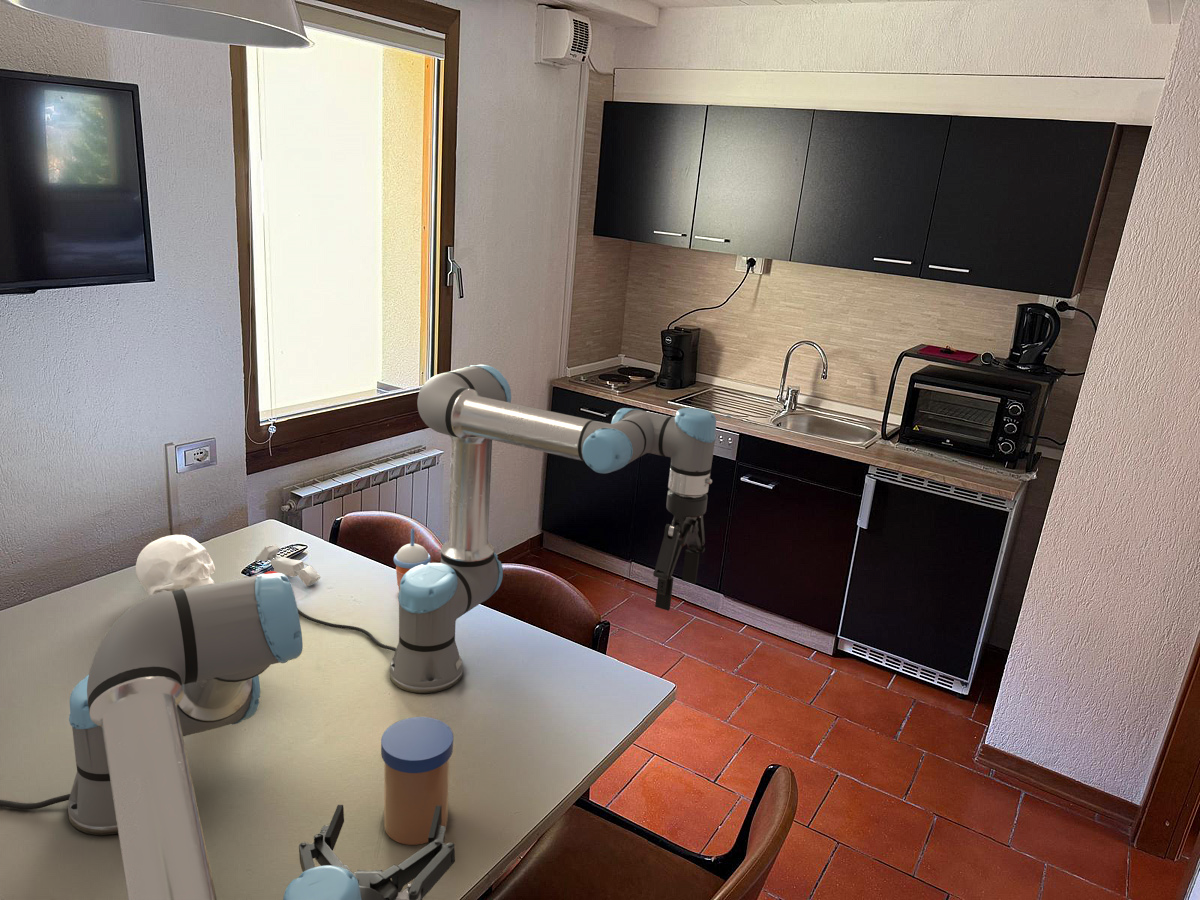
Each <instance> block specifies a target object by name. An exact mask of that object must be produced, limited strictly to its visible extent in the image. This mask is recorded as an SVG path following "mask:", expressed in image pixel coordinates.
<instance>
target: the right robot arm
mask: <svg viewBox="0 0 1200 900" xmlns="http://www.w3.org/2000/svg"><path fill="white" fill-rule="evenodd" d="M416 402H417V403H416V404H417V411H418V415H419V417H420V418H421V420H422V422H423V423H424V425H426V426H427V427H428V428H430V429H431V430H433V431H435V432H437V433H439V434H443V435H446V436H449V437H450V461H449V462H450V464H449V465H450V467H449V472H450V473H449V498H448V499H449V500H448V501H449V503H448V534H447V535H448V536H447V537H448V539H447V541H446V542H445V543H444V544H443V545H441V547H440V562H430V563H428V564H427V565H423V564H421V565H418V566H416V567H413V568H412V569H410V570H409V571H407V572H406V573H405V574H404V576H403V577H402V579H401V582H400V590H399V589H398V593H397V594H398V595H397V597H398V643H397V645H396V647H394V646H392V645H391V646H390V645H388V644H383V643H381V642H380V641H378V640H377V638H375V636H373V634H372V633H371V632H369V631H368V630H366V629H364V628H361V627H358V626H354V625H346V624H340V623H339V624H338V623H332V622H328V621H325V620H321V619H317V618H314V617H312V616H310V615H308V614H306V613H304V612H303V611H301V610H300V609H299V608H298V607H297V609H298V614H299V616H301V617H302V618H304V619H306V620H308V621H310V622H312V623H315V624H318V625H323V626H327V627H331V628H336V629H337V628H338V629H344V630H352V631H356V632H360V633H362V634H364V635H365V636H367V637H368V638H369V639H370V640H371V641H372V642H373V643H374V644H375V645H376V646H378V647H379V648H382V649H385V650H388V651H392V652H394V653H393V656H392V659H391V660H390V666H389V679H390V681H391V682H392V683H393V684H394V685H395V686H396V687H398V688H399V689H401V690H404V691H407V692H410V693H416V694H430V693H431V694H432V693H438V692H441V691H445V690H447V689H450V688H451V687H453V686H455V685H456V684H457V683H458V682H459V681H460V680H461V679H462V676H463V672H464V664H463V660H462V657H461V656H460V653H459V649H458V646H457V642H456V622H457V620H458V619H459V618H461V617H462V616H463V615H465V614H467V613H469V612H470V611H471V610H472V609H474V608H476V607H477V606H479V605H480V604H482V603H484V602H486V601H487V600H489V599H490V598H491V597H492V596H493V595H494V594H495V593H496V592H497V591H498V590H499V588H500V586H501V585H502V581H503V578H504V569H503V564H502V561H501V560H499V559H498V558H499V556H498V555H497V554H498V553H496V551H495V547H494V545H492V544H491V542H489V524H490V523H489V522H490V497H491V479H492V478H491V477H492V452H493V451H492V450H493V441H494V442H499V443H503V444H507V445H512V446H517V447H521V448H524V449H529V450H534V451H538V452H542V453H546V454H551V455H555V456H558V457H559V456H560V457H563V458H567V459H572V460H576V461H581V462H585V464H586V465H587V467H589V468H590V469H591V470H592V471H593V472H595V473H598V474H609V473H612V472H617V471H619V470H621V469H623V468H624V467H626V466H627V465H628V464H630V463H632V462H634V461H635V460H637V459H639V458H641V457H642V456H644V455H646V454H652V455H657V456H660V457H666V458H667V457H668V458H670V467H669V473H668V474H669V476H668V483H667V488H668V490H667V495H666V504H665V505H666V506H665V508H666V510H667V511H668V512H669V513H671V514H672V515H673V518H672V520H671V522H670V524H669V523H666V524H665V527H664V533H663V539H662V541H661V546H660V550H659V553H658V555H657V560H656V564H655V567H654V570H653V577H654V578H657V584H656V594H655V604H654V607H655V608H659V609H661V610H665V611H670V610H671V603H672V595H673V587H674V586H673V585H674V576H673V574H674V571H675V568H676V565H677V562H678V559H679V557H680V554H681V551H682V548H684V547H685V546H686V547H687V549H686V550H685V551H684V552H685V553H684V559H683V560H684V562H683V569H682V570H683V571H682V579H681V582H686V583H690V584H693V585H695V584H696V583H697V578H698V570H699V563H700V554H701V553H704V552H705V550H706V547H705V546H704V545H705V543H706V538H705V526H704V525H705V524H704V515H705V514H706V513H707V508H708V507H707V506H708V498H709V496H708V493H709V488H710V485H712V483H713V479H711V472H712V465H713V464H712V463H713V458H714V451H715V443H716V440H717V436H716V433H717V432H716V431H717V417H716V415H715V414H714V413H713V412H712V411H710V410H707V409H703V408H699V407H697V408H696V407H695V408H694V407H682V408H679V409H677V411H676V413H675V415H674V416H670V415H666V414H661V413H657V412H656V413H655V412H650V411H647V410H643V409H640V408H628V407H622V408H619V409H618V410H617V411H616V413H615V414H614V415H613V416H612V419H611V422H610V423H609V422H604V421H603V422H602V421H597V420H593V419H589V418H585V417H580V416H574V415H570V414H565V413H561V412H556V411H551V410H546V409H542V408H538V407H533V406H527V405H523V404H518V403H515V402H512V391H511V387H510V384H509V382H508V380H507V378H506V377H504V375H503V373H502V372H501V371H500V370H499V369H497V368H495V367H494V366H491V365H488V364H477V365H472V364H471V365H467V366H465V367H463V368H457V369H455V370H450V371H446V372H442V373H439V374H435V375H433V376H432V377H430V378H429V379H428V380H427V381H426V382H425V383H423V385H422V386H421V388H420V389H419V392H418V395H417V401H416Z"/></svg>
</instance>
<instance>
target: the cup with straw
mask: <svg viewBox="0 0 1200 900" xmlns="http://www.w3.org/2000/svg"><path fill="white" fill-rule="evenodd" d="M415 531H416V529H415V528H410V543H407V544H404V545H403V546H401V547H400V548H399V549H398V551H397V552H396V553H395V554H394V556H393V558H392V559H393V563H394V565H395V566H396V567H395V572H396V581H397V583H396V584H397V586H398V591H399V590H400V582H401V579H402V577H403V576H404V574H405V573H406V572H407V571H409V570H410V569H412V568H413V567H416V566H418V565H421V564H423V565H427V564H428V563H431V561H432V556H431V555H430V553H429V552H428V551H427V549H426V548H425V547H424V546H423V545H421V544H418V543H415Z"/></svg>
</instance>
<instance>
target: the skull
mask: <svg viewBox="0 0 1200 900" xmlns="http://www.w3.org/2000/svg"><path fill="white" fill-rule="evenodd" d="M215 572H216V567H215V563H214V561H213V559H212V557H211V555H210V553H209V551H208V550H207V548H206V547H204V546H203V545H202V544H201V543H199V542H198V541H197V540H196V539H195V538H193V537H191V536H188V535H186V534H171V535H166V536H162V537H159V538H157V539H155V540H153V541H151V542H149V543H148V544H147V545H146V546H144V547H143V548H142V550H141V551H140V552H139V554H138V555H137V559H136V562H135V574H136V577H137V580H138V582H139V584H140V585H141V586H142V588H143V589H144V590H145V592H146V593H147V594H148V595H149V596H151V595H154V594H156V593H161V592H165V591H174V590H180V589H185V588H191V587H196V586H202V585H207V584H213V583H215V581H214V580H213V579H212V577H211V574H214V573H215Z"/></svg>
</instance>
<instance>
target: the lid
mask: <svg viewBox="0 0 1200 900" xmlns="http://www.w3.org/2000/svg"><path fill="white" fill-rule="evenodd" d="M380 744H381V745H380V757H381V759H382V760H383V762H385V763H386V764H387V765H388V766H389V767H391V768H393V769H395V770H397V771H400V772H405V773H422V772H427V771H431V770H434V769H436V768H438V767H440V766H442V765H443V764H444V763H446V762H447V761H448V760H449V761H450V758H451V757H452V754H453V752H454V733H453V730H452V728H451V727H450V726H449V725H448V724H447V723H445V722H443V721H442V720H440V719H437V718H434V717H430V716H413V717H407V718H403V719H401V720H398V721H396V722H394V723H392V724H390V725H389V726H388V727H387V728H386V729H385V730H384V732H383V733H382V735H381V738H380Z"/></svg>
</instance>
